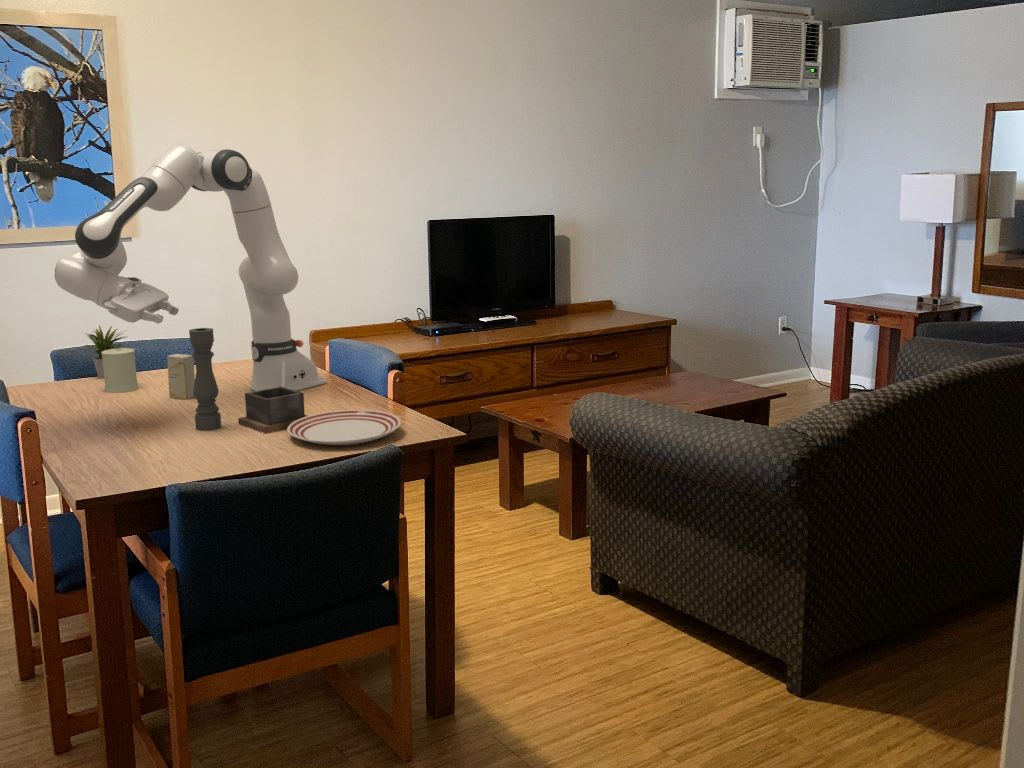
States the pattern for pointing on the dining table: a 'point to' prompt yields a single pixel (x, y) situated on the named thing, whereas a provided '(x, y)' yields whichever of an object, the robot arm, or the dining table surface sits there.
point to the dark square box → (272, 409)
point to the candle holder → (204, 380)
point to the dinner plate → (344, 427)
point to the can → (119, 370)
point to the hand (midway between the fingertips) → (169, 316)
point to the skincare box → (181, 376)
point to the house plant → (102, 347)
